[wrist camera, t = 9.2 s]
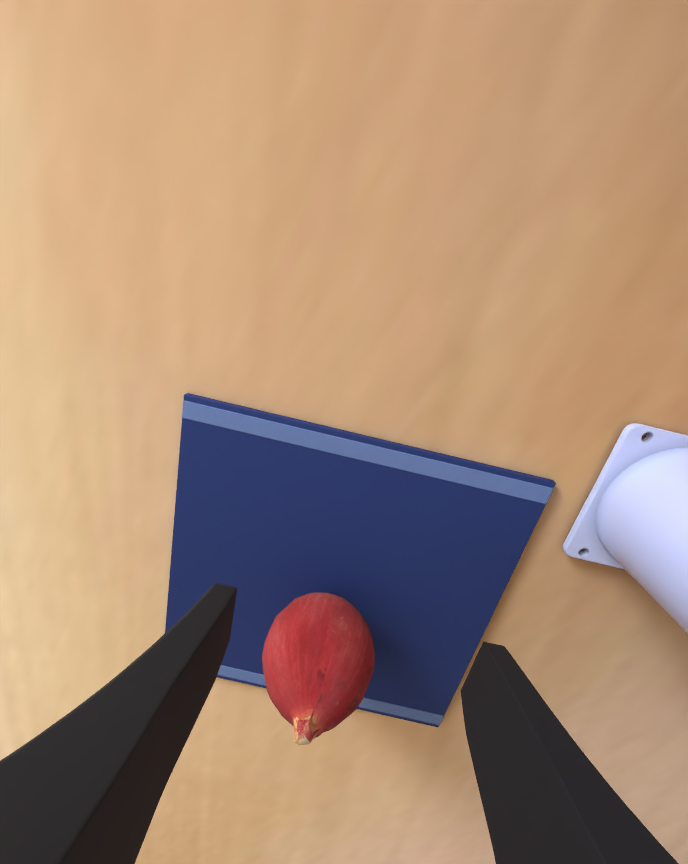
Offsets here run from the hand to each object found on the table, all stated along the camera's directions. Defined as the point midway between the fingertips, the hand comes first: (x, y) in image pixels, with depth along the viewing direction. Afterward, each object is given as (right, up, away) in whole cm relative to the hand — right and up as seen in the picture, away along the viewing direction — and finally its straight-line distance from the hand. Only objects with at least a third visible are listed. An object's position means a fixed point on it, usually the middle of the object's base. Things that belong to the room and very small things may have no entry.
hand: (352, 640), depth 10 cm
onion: (-1, -4, +12) cm, 13 cm away
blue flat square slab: (-1, -3, +12) cm, 13 cm away
